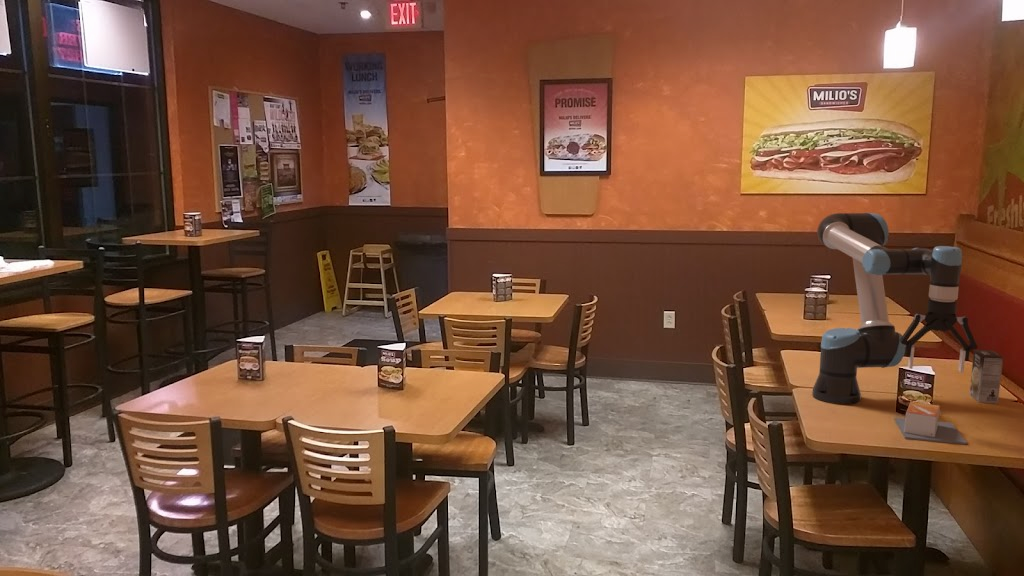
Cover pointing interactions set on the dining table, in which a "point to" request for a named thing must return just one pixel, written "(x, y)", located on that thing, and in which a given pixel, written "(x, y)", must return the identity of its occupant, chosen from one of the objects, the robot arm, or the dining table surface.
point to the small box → (922, 419)
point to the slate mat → (943, 434)
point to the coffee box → (986, 376)
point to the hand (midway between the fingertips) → (935, 369)
